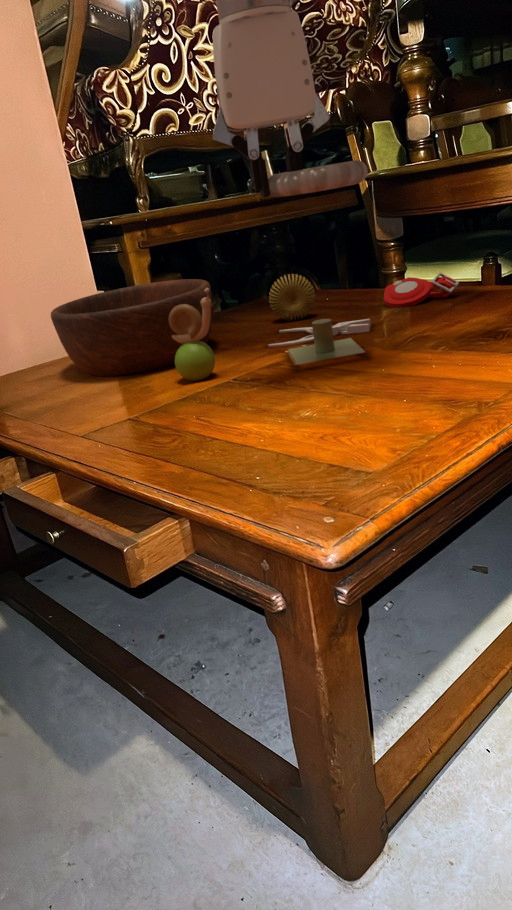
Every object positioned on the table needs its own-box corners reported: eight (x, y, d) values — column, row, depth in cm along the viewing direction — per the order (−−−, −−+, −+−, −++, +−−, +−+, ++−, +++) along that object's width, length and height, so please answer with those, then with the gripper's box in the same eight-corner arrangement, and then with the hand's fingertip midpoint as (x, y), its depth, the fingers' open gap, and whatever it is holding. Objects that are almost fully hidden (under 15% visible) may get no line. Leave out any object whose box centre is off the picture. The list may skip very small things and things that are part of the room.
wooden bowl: (62, 395, 98) (43, 324, 95) (70, 359, 121) (54, 300, 118) (233, 359, 102) (221, 289, 98) (209, 330, 125) (198, 272, 121)
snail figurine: (220, 383, 91) (203, 291, 86) (174, 388, 92) (155, 298, 88) (229, 371, 96) (213, 284, 91) (185, 376, 97) (167, 290, 93)
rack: (351, 346, 98) (347, 309, 96) (366, 360, 90) (362, 321, 88) (289, 357, 98) (283, 321, 96) (298, 373, 89) (292, 334, 87)
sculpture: (272, 326, 119) (265, 279, 116) (272, 321, 123) (265, 276, 120) (319, 319, 118) (312, 271, 115) (317, 314, 122) (311, 268, 119)
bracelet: (353, 182, 84) (351, 160, 83) (379, 181, 73) (377, 156, 72) (262, 197, 83) (259, 176, 82) (275, 199, 73) (272, 175, 72)
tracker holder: (392, 304, 114) (371, 283, 122) (398, 327, 116) (377, 305, 124) (461, 274, 113) (435, 255, 121) (465, 298, 116) (439, 277, 124)
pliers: (279, 324, 113) (372, 314, 109) (280, 334, 113) (372, 324, 109) (266, 339, 104) (367, 329, 100) (268, 350, 104) (368, 339, 100)
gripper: (323, 2, 75) (343, 182, 82) (175, 27, 74) (208, 206, 81) (338, -17, 68) (358, 181, 75) (175, 10, 67) (211, 208, 74)
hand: (280, 192), depth 78 cm, fingers closed on bracelet, 2 cm apart
